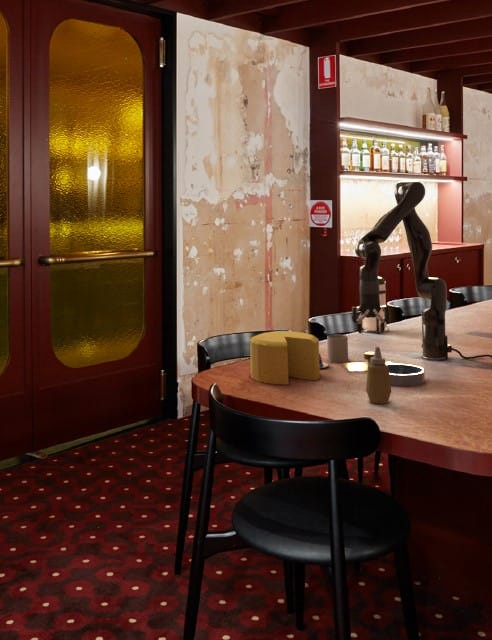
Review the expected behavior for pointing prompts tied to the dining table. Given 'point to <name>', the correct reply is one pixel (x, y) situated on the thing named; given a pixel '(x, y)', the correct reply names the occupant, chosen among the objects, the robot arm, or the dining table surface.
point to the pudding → (321, 364)
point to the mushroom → (368, 356)
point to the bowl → (405, 375)
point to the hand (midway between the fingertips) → (370, 332)
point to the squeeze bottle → (378, 379)
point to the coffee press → (375, 322)
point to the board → (359, 366)
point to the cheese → (284, 357)
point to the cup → (337, 348)
